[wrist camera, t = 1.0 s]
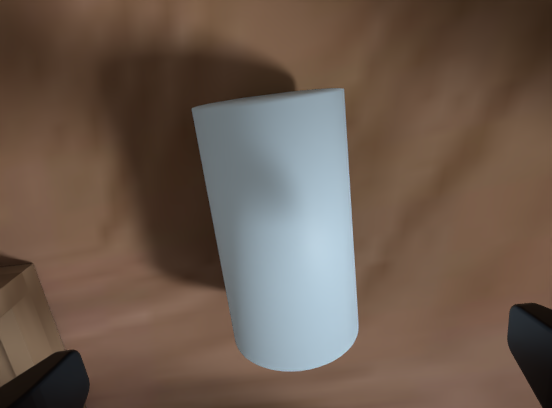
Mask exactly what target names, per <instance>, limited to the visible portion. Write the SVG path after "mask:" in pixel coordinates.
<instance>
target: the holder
mask: <svg viewBox="0 0 552 408" xmlns="http://www.w3.org/2000/svg"><path fill="white" fill-rule="evenodd" d="M58 351H65V349H64V346H63V344H62V341H61V338H60V335H59V333H58V330H57V327H56V325H55V322H54V319H53V316H52V314H51V311H50V308H49V306H48V303H47V300H46V297H45V295H44V292H43V289H42V287H41V284H40V281H39V278H38V276H37V273H36V270H35V268H34V265H33V264H24V265H16V266H7V267H0V387H1V386H3V385H4V384H6V383H7V382H9V381H11V380H12V379H14V378H15V377H17V376H18V375H20V374H22V373H23V372H25V371H26V370H28V369H29V368H31V367H33V366H34V365H36V364H37V363H39V362H40V361H42V360H44V359H45V358H47V357H48V356H50V355H51V354H53V353H55V352H58ZM83 408H86V406H85V404H84V407H83Z"/></svg>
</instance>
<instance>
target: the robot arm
mask: <svg viewBox="0 0 552 408" xmlns="http://www.w3.org/2000/svg"><path fill="white" fill-rule="evenodd" d="M507 340H508V346H509V349H510V351H511V353H512V355H513V356H514V358H515V360H516V362H517V363H518V365H519V367H520V369H521V371H522V372H523V374H524V376H525V378H526V379H527V381H528V383H529V385H530V386H531V388H532V390H533V392H534V394H535V395H536V397H537V399H538V401H539V402H540V404H541V406H542V408H552V310H551V309H549V308H546V307H544V306H541V305H539V304H536V303H524V304H515V305H513V306H512V307H511V309H510V313H509V324H508V336H507ZM89 386H90V383H89V378H88V375H87V372H86V369H85V366H84V364H83V361H82V358H81V355H80V353H79V352H78V351H76V350H65V351H58V352H55V353H53V354H51V355H50V356H48V357H47V358H45V359H44V360H42V361H40V362H39V363H37V364H36V365H34V366H33V367H31V368H29V369H28V370H26V371H25V372H23V373H22V374H20V375H18V376H17V377H15V378H14V379H12V380H11V381H9V382H7V383H6V384H4V385H3V386H1V387H0V408H83V407H84V404H85V402H86V399H87V396H88V392H89Z"/></svg>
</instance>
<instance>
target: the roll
mask: <svg viewBox="0 0 552 408" xmlns="http://www.w3.org/2000/svg"><path fill="white" fill-rule="evenodd" d="M192 114H193V119H194V125H195V130H196V135H197V141H198V146H199V151H200V156H201V162H202V167H203V172H204V178H205V183H206V188H207V193H208V199H209V204H210V209H211V215H212V220H213V225H214V230H215V236H216V241H217V246H218V252H219V257H220V262H221V267H222V273H223V278H224V283H225V289H226V294H227V299H228V304H229V310H230V315H231V320H232V326H233V331H234V336H235V341H236V344H237V347H238V349H239V350H240V352H241V353H242V354H243V355H244V356H245V357H246V358H247V359H248V360H250V361H251V362H253V363H255V364H257V365H259V366H262V367H264V368H268V369H272V370H278V371H303V370H309V369H313V368H317V367H320V366H323V365H326V364H328V363H330V362H332V361H334V360H336V359H337V358H339V357H340V356H342V355H343V354H344V353H345V352H347V351H348V349H349V348H350V347H351V346H352V345H353V343H354V341H355V340H356V337H357V335H358V309H357V293H356V277H355V261H354V244H353V228H352V212H351V195H350V179H349V163H348V147H347V130H346V114H345V98H344V89H342V88H328V89H313V90H302V91H292V92H284V93H276V94H268V95H260V96H252V97H245V98H238V99H232V100H226V101H220V102H215V103H210V104H205V105H200V106H197V107H194V108H192Z"/></svg>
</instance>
